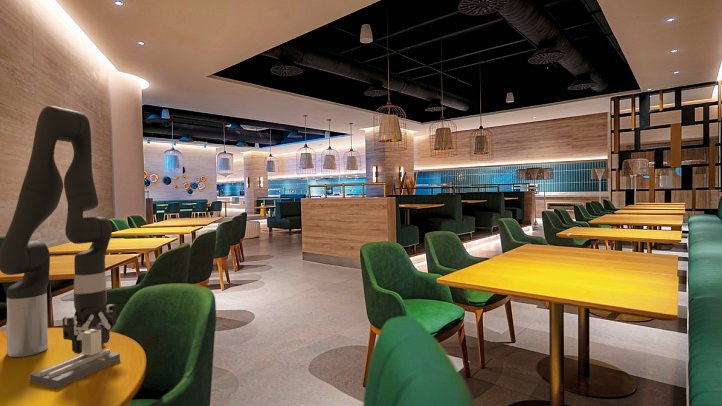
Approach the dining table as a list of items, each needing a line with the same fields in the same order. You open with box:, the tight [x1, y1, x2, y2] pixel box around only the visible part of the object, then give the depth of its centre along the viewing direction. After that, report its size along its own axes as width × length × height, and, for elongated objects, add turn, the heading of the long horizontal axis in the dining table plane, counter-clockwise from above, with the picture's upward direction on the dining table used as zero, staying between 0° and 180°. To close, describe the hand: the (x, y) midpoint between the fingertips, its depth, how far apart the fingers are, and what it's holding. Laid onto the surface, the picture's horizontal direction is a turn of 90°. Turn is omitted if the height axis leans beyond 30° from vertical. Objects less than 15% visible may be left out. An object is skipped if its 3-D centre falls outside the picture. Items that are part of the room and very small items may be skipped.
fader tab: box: [81, 329, 102, 358], centre depth 110 cm, size 4×3×7 cm
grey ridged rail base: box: [29, 347, 121, 390], centre depth 107 cm, size 10×17×3 cm, turn 161°
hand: (91, 347), depth 110 cm, fingers open, 7 cm apart
